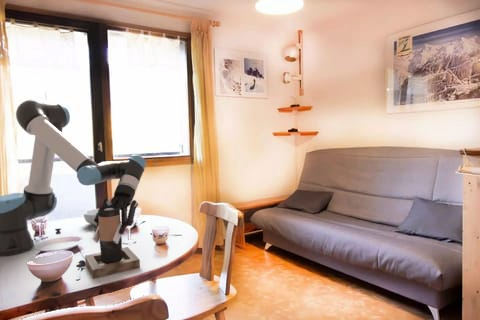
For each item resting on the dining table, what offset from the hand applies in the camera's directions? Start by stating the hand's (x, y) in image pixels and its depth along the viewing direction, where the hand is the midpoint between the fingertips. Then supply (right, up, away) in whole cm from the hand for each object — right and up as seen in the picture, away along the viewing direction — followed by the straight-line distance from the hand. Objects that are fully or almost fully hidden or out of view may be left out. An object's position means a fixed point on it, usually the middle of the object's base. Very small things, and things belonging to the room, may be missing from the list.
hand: (105, 241), depth 124 cm
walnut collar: (+1, -10, +4) cm, 11 cm away
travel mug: (+1, -8, +4) cm, 9 cm away
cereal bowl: (-25, -5, +60) cm, 65 cm away
